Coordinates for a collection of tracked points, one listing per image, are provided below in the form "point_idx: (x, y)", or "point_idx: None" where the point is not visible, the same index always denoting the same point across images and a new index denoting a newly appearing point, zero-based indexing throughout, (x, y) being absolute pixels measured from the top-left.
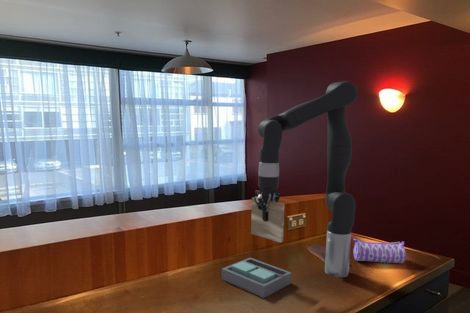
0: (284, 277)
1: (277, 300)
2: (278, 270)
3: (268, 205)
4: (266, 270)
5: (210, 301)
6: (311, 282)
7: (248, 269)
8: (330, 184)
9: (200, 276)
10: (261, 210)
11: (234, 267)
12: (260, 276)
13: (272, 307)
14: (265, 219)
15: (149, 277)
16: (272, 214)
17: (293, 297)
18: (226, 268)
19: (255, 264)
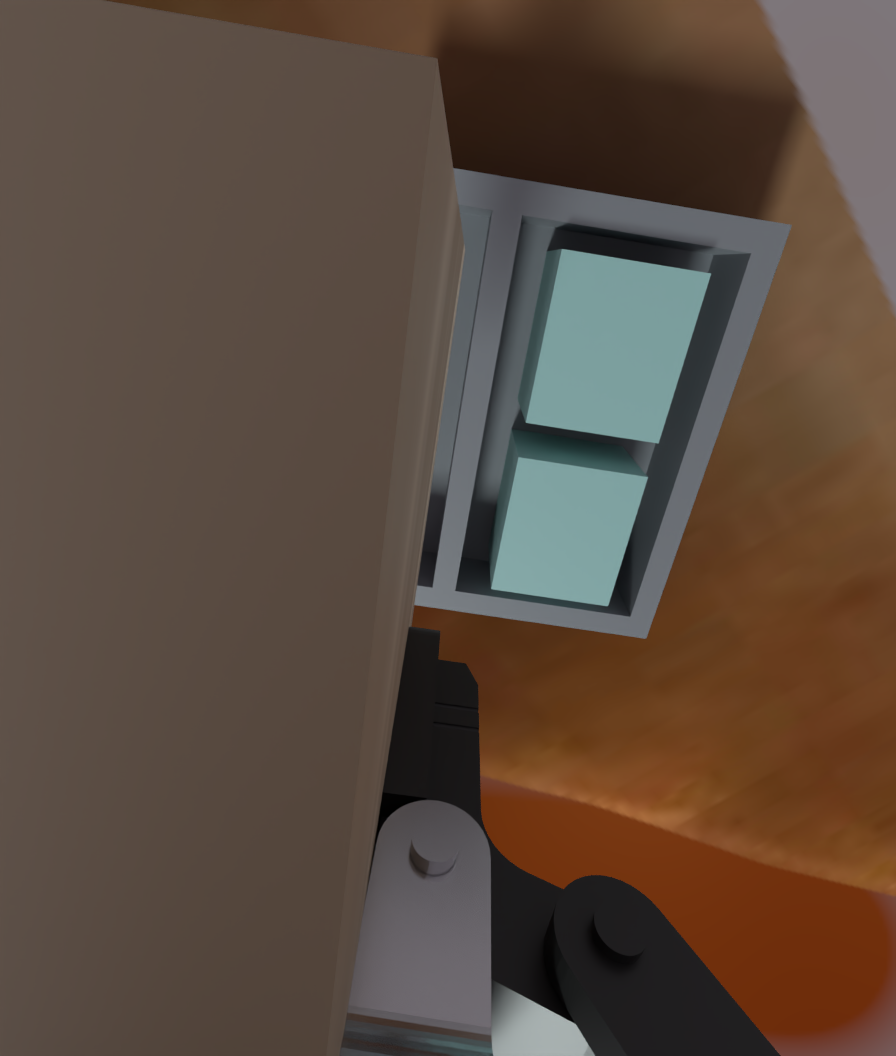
0: (502, 178)
1: (675, 148)
2: None
3: (424, 1053)
4: (488, 374)
5: (877, 507)
6: None
7: (603, 478)
8: None
9: (619, 706)
10: None
11: (615, 578)
12: (682, 329)
13: (794, 123)
14: (469, 676)
15: (757, 856)
16: (406, 625)
17: (566, 56)
18: (626, 618)
19: None
